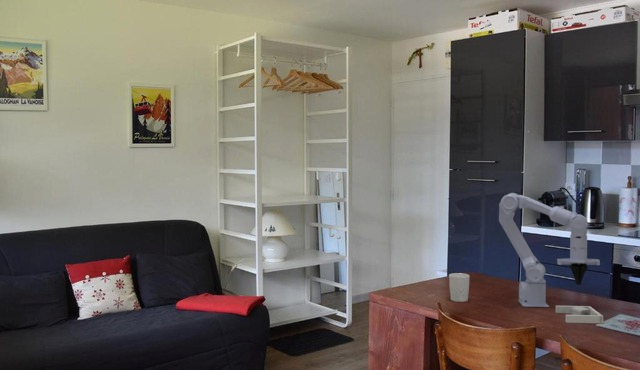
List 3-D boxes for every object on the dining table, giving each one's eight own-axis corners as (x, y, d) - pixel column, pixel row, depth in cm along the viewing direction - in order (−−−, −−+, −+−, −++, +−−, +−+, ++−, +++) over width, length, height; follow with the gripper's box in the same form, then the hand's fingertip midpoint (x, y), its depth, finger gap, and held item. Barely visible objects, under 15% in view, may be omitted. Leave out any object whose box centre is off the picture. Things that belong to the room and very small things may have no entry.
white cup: (457, 303, 224) (456, 278, 224) (445, 298, 231) (445, 274, 231) (473, 301, 227) (473, 276, 227) (461, 296, 234) (461, 272, 234)
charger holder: (566, 322, 197) (566, 315, 197) (555, 312, 210) (555, 305, 210) (603, 323, 196) (603, 316, 196) (589, 313, 209) (590, 306, 208)
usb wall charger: (580, 321, 198) (580, 310, 198) (566, 316, 205) (566, 305, 205) (590, 320, 199) (590, 309, 199) (576, 315, 206) (576, 304, 206)
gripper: (561, 249, 210) (561, 286, 211) (603, 249, 208) (602, 286, 209) (555, 246, 217) (555, 281, 218) (596, 246, 215) (595, 282, 216)
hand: (578, 283), depth 214 cm, fingers closed
